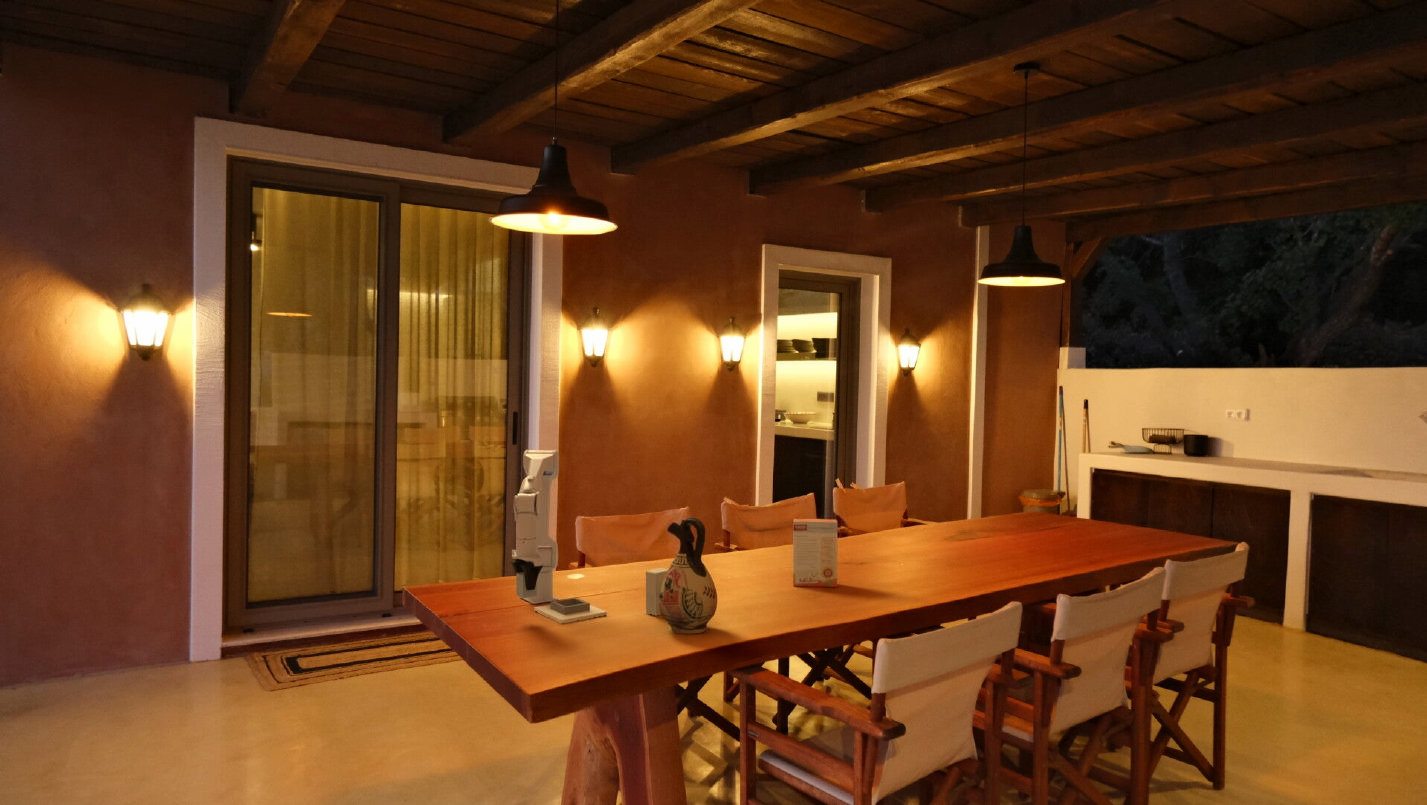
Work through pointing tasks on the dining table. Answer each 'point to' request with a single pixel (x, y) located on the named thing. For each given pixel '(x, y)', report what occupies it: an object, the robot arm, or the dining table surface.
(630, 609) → the dining table surface
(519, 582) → the peg
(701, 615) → the ceramic jug
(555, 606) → the socket holder
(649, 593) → the skincare box
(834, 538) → the cracker box
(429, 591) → the dining table surface
